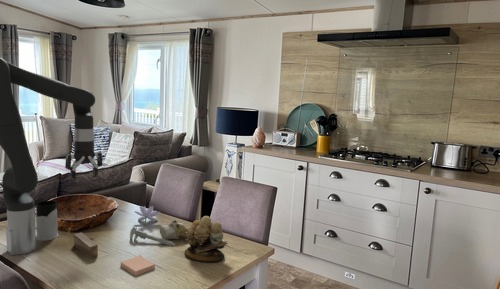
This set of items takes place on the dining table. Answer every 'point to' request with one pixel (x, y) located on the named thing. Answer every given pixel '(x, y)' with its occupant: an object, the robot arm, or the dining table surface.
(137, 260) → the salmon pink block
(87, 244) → the walnut bar
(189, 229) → the owl figurine
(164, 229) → the ceramic sculpture
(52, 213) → the glass holder
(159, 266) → the dining table surface
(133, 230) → the caliper
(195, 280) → the dining table surface
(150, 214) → the water lily
